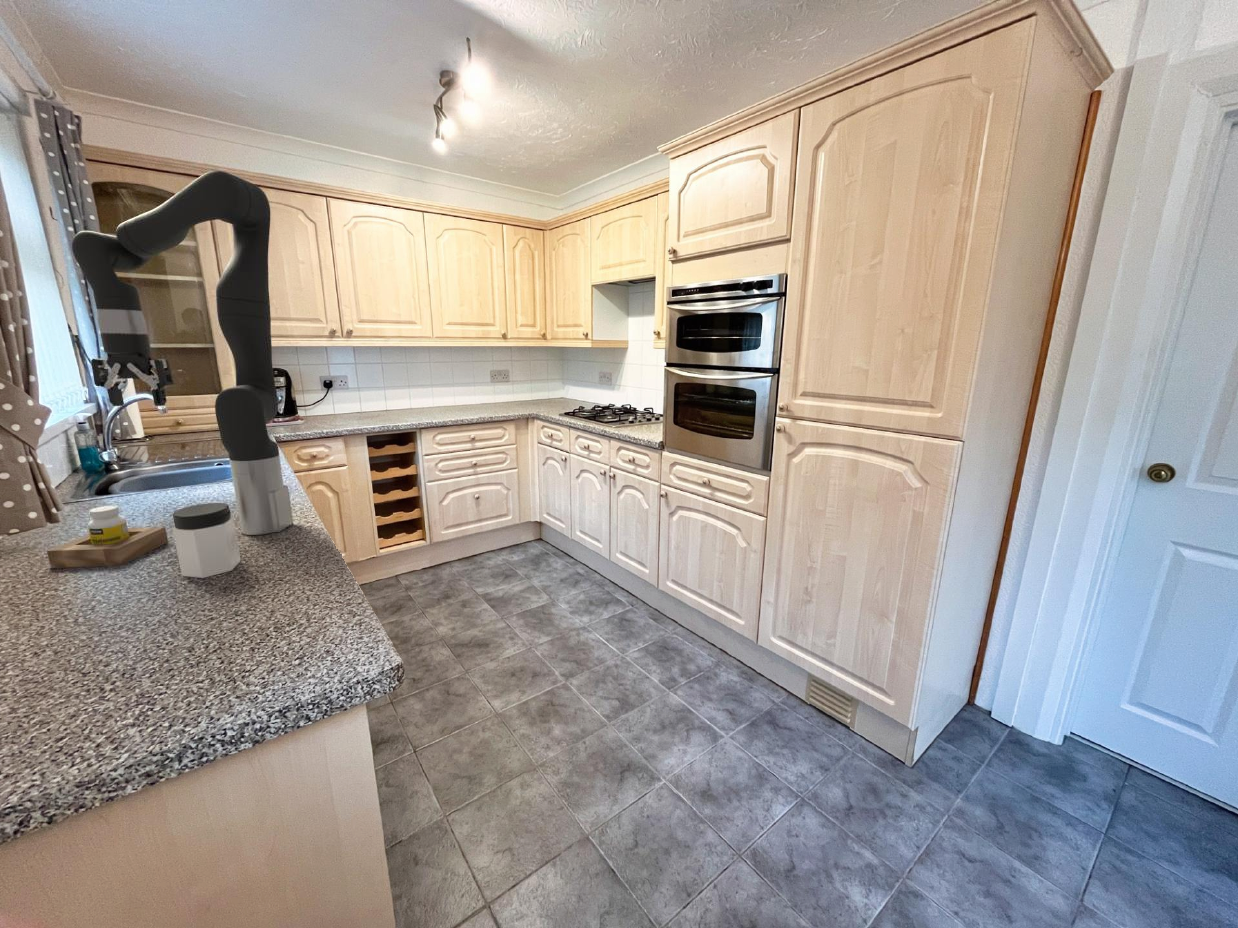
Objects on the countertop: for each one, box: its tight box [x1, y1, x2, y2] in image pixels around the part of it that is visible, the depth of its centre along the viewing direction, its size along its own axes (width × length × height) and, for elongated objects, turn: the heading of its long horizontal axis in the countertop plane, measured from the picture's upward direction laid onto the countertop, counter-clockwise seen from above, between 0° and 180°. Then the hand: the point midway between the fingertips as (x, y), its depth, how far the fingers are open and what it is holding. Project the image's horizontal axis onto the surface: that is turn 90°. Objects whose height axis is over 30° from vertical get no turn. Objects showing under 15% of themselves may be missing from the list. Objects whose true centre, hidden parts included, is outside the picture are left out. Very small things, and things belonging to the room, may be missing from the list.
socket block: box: [46, 526, 169, 569], centre depth 100 cm, size 12×12×4 cm
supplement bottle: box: [87, 505, 129, 545], centre depth 100 cm, size 5×5×10 cm
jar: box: [172, 502, 241, 579], centre depth 94 cm, size 9×8×12 cm
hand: (139, 405), depth 112 cm, fingers open, 8 cm apart
